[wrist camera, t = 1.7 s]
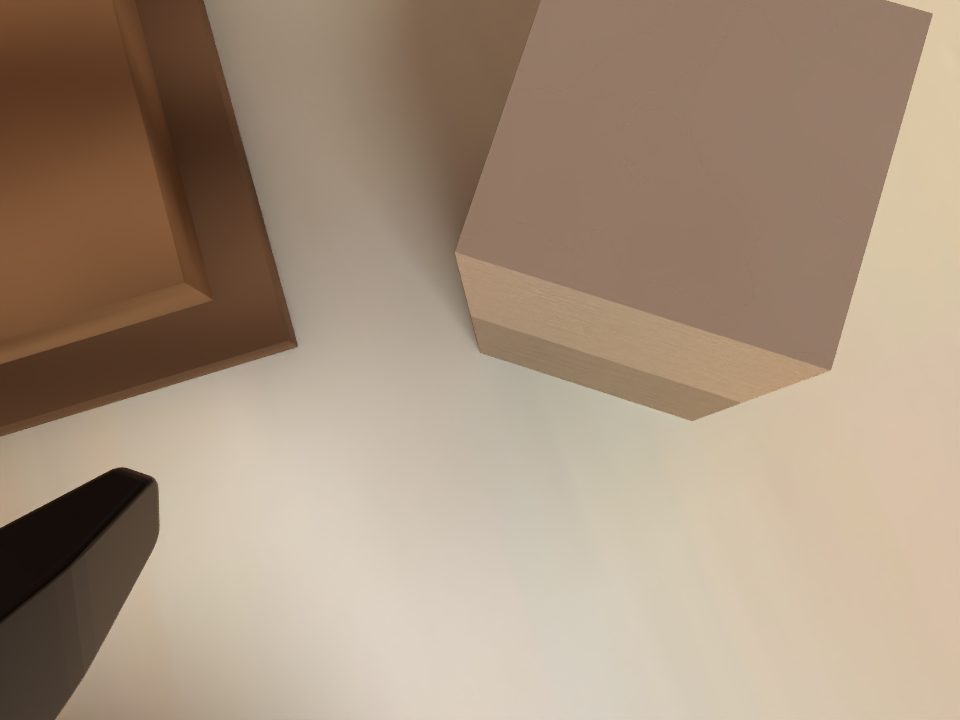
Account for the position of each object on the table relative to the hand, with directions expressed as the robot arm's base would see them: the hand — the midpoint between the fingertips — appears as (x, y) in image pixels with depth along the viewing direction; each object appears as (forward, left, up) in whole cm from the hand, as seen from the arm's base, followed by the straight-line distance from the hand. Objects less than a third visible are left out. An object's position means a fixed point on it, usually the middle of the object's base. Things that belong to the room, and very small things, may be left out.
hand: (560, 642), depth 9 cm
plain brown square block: (+6, +3, -13) cm, 15 cm away
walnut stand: (-4, +16, -13) cm, 21 cm away
